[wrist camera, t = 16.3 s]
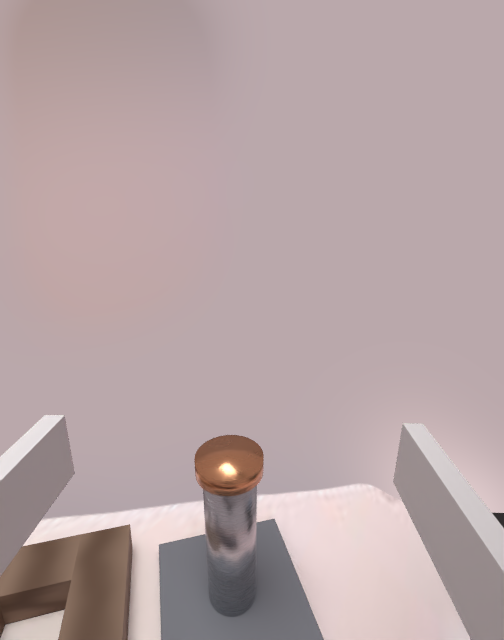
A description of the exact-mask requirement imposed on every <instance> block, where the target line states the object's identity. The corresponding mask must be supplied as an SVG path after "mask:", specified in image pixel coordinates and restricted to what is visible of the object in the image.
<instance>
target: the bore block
mask: <svg viewBox="0 0 504 640" xmlns="http://www.w3.org/2000/svg"><path fill="white" fill-rule="evenodd" d="M131 563H132V540H131V530H130V525H125V526H120V527H115V528H111V529H106V530H101V531H96V532H91V533H86V534H81V535H76V536H71V537H67V538H62V539H57V540H52V541H47V542H42V543H37V544H32V545H28V546H23V547H21V549H20V550H19V551H18V553H17V554H16V556H15V557H14V558H13V560H12V561H11V562H10V564H9V565H8V567H7V568H6V569H5V571H4V572H3V574H2V575H1V576H0V637H1V634H2V632H3V629H4V626H5V624H8V623H12V622H16V621H20V620H24V619H28V618H32V617H36V616H40V615H43V614H47V613H51V612H55V611H59V610H63V609H65V611H64V616H63V620H62V625H61V630H60V634H59V639H58V640H127V635H128V617H129V599H130V581H131Z"/></svg>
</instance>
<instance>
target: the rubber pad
mask: <svg viewBox="0 0 504 640" xmlns="http://www.w3.org/2000/svg"><path fill="white" fill-rule="evenodd" d="M159 565H160V604H161V640H324V639H323V637H322V634H321V632H320V629H319V627H318V624H317V622H316V619H315V617H314V615H313V612H312V610H311V607H310V605H309V602H308V600H307V597H306V595H305V593H304V590H303V588H302V585H301V583H300V580H299V578H298V575H297V573H296V570H295V568H294V566H293V563H292V561H291V558H290V556H289V553H288V551H287V548H286V546H285V544H284V541H283V539H282V536H281V534H280V531H279V529H278V526H277V524H276V522H275V519H271V520H266V521H262V522H257V523H256V597H255V600H254V602H253V604H252V606H251V607H250V608H249V609H248V610H247V611H246V612H244V613H243V614H241V615H238V616H233V617H230V616H224V615H222V614H220V613H218V612H217V611H216V610H215V609H214V608H213V606H212V605H211V602H210V599H209V590H208V571H207V552H206V534H204V535H200V536H195V537H191V538H186V539H182V540H177V541H173V542H169V543H164V544H160V545H159Z"/></svg>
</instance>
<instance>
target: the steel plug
mask: <svg viewBox="0 0 504 640" xmlns="http://www.w3.org/2000/svg"><path fill="white" fill-rule="evenodd" d="M195 474H196V480H197V482H198V484H199V485H200V486H201V487H202V488H203V494H204V514H205V533H206V552H207V571H208V590H209V599H210V602H211V605H212V606H213V608H214V609H215V610H216V611H217V612H218V613H220V614H222V615H224V616H230V617H233V616H238V615H241V614H243V613H244V612H246V611H247V610H248V609H249V608H250V607H251V606H252V604H253V602H254V600H255V597H256V503H257V493H256V491H257V484H258V483H259V482H260V480H261V479H262V476H263V451H262V449H261V447H260V446H259V445H258V444H257V443H256V442H254V441H253V440H251V439H249V438H246V437H243V436H237V435H226V436H219V437H216V438H213V439H211V440H209V441H207V442H205V443H204V444H203V445H202V446H201V447H200V448H199V449H198V450H197V452H196V454H195Z"/></svg>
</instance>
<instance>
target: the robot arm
mask: <svg viewBox="0 0 504 640" xmlns="http://www.w3.org/2000/svg"><path fill="white" fill-rule="evenodd" d="M74 474H75V472H74V466H73V461H72V456H71V450H70V444H69V438H68V432H67V427H66V421H65V416H64V415H45V416H44V417H43V418H42V419H40V420H39V421H38V422H37V423H36V424H35V425H34V426H33V427H32V428H31V429H30V430H29V431H28V432H26V433H25V434H24V435H23V436H22V437H21V438H20V439H19V440H18V441H17V442H16V443H15V444H14V445H12V446H11V447H10V448H9V449H8V450H7V451H6V452H5V453H4V454H3V455H2V456H1V457H0V576H1V575H2V574H3V572H4V571H5V569H6V568H7V567H8V565H9V564H10V562H11V561H12V560H13V558H14V557H15V556H16V554H17V553H18V551H19V550H20V549H21V547H22V546H23V544H24V543H25V542H26V540H27V539H28V537H29V536H30V535H31V533H32V532H33V531H34V529H35V528H36V526H37V525H38V524H39V522H40V521H41V519H42V518H43V517H44V515H45V514H46V512H47V511H48V510H49V508H50V507H51V505H52V504H53V503H54V501H55V500H56V499H57V497H58V496H59V494H60V493H61V492H62V490H63V489H64V487H65V486H66V485H67V483H68V482H69V481H70V479H71V478H72V476H73V475H74ZM393 482H394V484H395V486H396V488H397V491H398V492H399V494H400V497H401V498H402V501H403V503H404V505H405V507H406V509H407V511H408V513H409V515H410V517H411V519H412V521H413V523H414V525H415V527H416V529H417V531H418V533H419V535H420V537H421V539H422V541H423V543H424V545H425V547H426V549H427V551H428V553H429V555H430V557H431V559H432V561H433V563H434V565H435V567H436V569H437V571H438V573H439V575H440V578H441V580H442V582H443V584H444V586H445V588H446V590H447V592H448V594H449V596H450V598H451V600H452V602H453V604H454V606H455V608H456V610H457V612H458V614H459V616H460V618H461V620H462V622H463V624H464V626H465V628H466V630H467V632H468V634H469V636H470V638H471V640H504V513H492V512H491V511H490V510H489V509H488V507H487V506H486V505H485V503H484V502H483V501H482V499H481V498H480V497H479V496H478V494H477V493H476V492H475V491H474V489H473V488H472V487H471V485H470V484H469V483H468V481H467V480H466V479H465V477H464V476H463V475H462V474H461V472H460V471H459V470H458V468H457V467H456V466H455V465H454V463H453V462H452V461H451V459H450V458H449V457H448V456H447V454H446V453H445V452H444V451H443V449H442V448H441V446H440V445H439V444H438V443H437V441H436V440H435V439H434V437H433V436H432V435H431V434H430V432H429V431H428V430H427V428H426V427H425V426H424V425H423V424H409V423H403V425H402V432H401V438H400V444H399V450H398V456H397V462H396V468H395V474H394V481H393Z"/></svg>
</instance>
